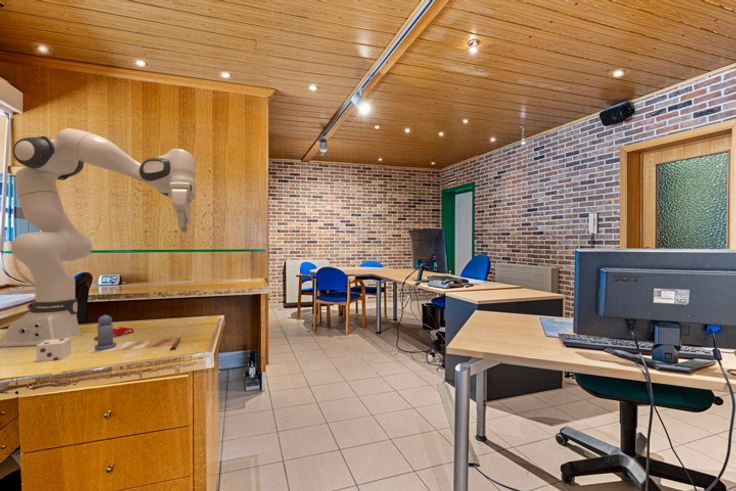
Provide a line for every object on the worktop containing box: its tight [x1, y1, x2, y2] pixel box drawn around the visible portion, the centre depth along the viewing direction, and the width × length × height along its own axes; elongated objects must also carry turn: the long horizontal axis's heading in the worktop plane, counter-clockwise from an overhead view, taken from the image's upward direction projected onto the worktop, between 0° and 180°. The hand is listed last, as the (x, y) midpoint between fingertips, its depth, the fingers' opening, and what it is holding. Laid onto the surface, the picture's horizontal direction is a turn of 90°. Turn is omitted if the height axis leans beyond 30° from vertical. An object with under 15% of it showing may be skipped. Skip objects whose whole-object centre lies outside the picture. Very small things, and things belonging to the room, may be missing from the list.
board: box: [86, 336, 181, 354], centre depth 118 cm, size 26×12×1 cm, turn 110°
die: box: [35, 337, 72, 363], centre depth 106 cm, size 6×6×6 cm
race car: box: [93, 326, 135, 342], centre depth 130 cm, size 13×5×4 cm, turn 160°
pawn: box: [94, 314, 117, 350], centre depth 116 cm, size 6×6×11 cm
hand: (182, 228), depth 126 cm, fingers open, 8 cm apart
